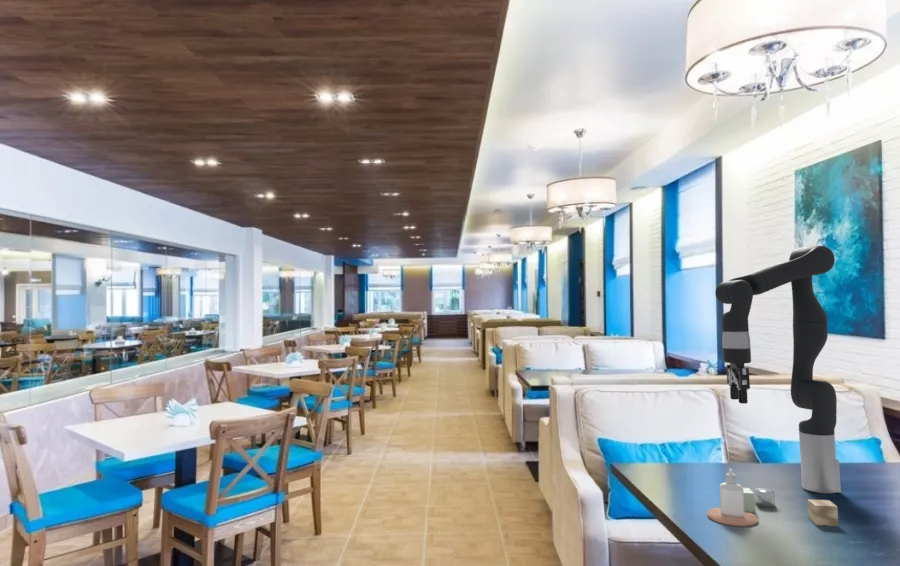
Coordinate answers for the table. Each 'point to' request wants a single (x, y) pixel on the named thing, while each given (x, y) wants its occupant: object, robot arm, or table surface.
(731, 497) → the eye dropper bottle
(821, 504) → the oak block
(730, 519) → the salmon disc
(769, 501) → the steel puck
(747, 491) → the sage block
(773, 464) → the table surface
